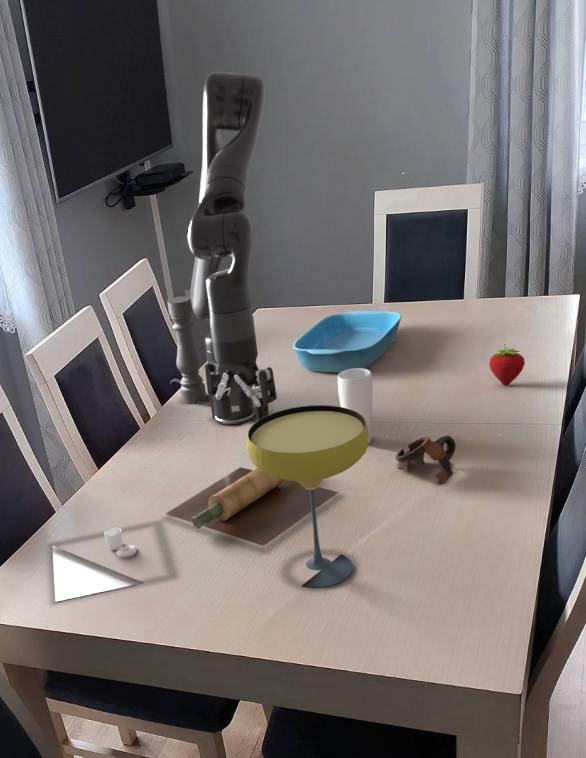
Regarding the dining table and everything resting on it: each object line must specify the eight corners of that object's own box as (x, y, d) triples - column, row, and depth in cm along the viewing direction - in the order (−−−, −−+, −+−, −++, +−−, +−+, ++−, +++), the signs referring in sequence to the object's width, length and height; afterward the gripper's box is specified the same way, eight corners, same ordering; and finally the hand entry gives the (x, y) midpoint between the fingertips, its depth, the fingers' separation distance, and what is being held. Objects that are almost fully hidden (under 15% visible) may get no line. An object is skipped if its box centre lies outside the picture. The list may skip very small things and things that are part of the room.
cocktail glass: (265, 545, 151) (248, 411, 139) (371, 537, 148) (363, 399, 135) (261, 604, 135) (242, 459, 123) (380, 597, 132) (372, 447, 120)
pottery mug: (434, 493, 158) (410, 456, 157) (404, 498, 167) (381, 463, 166) (477, 456, 162) (454, 419, 160) (445, 462, 171) (423, 427, 169)
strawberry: (520, 391, 191) (522, 347, 186) (485, 389, 195) (486, 346, 190) (526, 381, 195) (528, 338, 190) (492, 380, 199) (493, 337, 194)
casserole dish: (333, 332, 248) (331, 307, 244) (411, 332, 237) (410, 306, 233) (283, 379, 221) (280, 351, 217) (368, 381, 210) (367, 353, 206)
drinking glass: (374, 448, 178) (371, 378, 170) (340, 450, 179) (336, 381, 172) (375, 434, 183) (371, 366, 176) (342, 436, 185) (338, 369, 178)
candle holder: (178, 403, 217) (162, 304, 205) (187, 394, 222) (172, 296, 210) (201, 403, 215) (186, 303, 202) (210, 394, 219) (195, 295, 207)
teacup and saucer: (142, 559, 153) (138, 539, 151) (97, 568, 152) (93, 548, 150) (136, 536, 161) (132, 517, 159) (94, 545, 160) (89, 525, 158)
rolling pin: (188, 531, 156) (184, 507, 154) (284, 469, 173) (282, 446, 170) (208, 538, 153) (204, 513, 151) (304, 474, 169) (302, 450, 167)
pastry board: (166, 519, 165) (165, 513, 164) (241, 472, 177) (240, 467, 177) (264, 551, 149) (263, 545, 148) (338, 497, 162) (338, 491, 161)
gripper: (279, 330, 148) (288, 418, 156) (216, 324, 157) (228, 408, 165) (251, 344, 144) (262, 434, 151) (188, 337, 153) (202, 422, 161)
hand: (244, 420), depth 158 cm, fingers open, 8 cm apart
